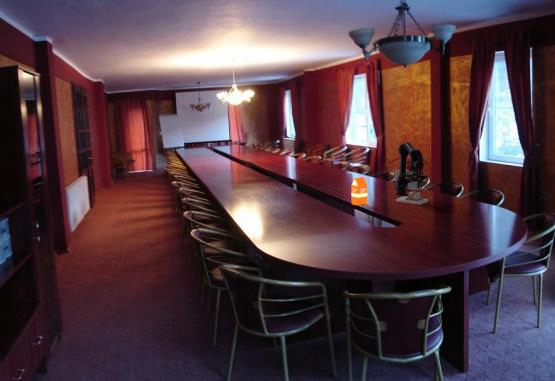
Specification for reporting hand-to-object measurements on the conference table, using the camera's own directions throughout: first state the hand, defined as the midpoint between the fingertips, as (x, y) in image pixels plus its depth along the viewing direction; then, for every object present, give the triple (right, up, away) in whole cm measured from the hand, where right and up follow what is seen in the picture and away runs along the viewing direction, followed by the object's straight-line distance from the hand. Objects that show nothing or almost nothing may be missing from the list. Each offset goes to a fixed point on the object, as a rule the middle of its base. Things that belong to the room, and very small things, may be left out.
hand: (414, 187), depth 354 cm
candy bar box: (+5, -1, +56) cm, 56 cm away
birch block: (0, -8, +2) cm, 8 cm away
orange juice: (-40, -12, +2) cm, 42 cm away
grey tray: (-1, -10, +3) cm, 11 cm away
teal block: (0, -1, 0) cm, 1 cm away
